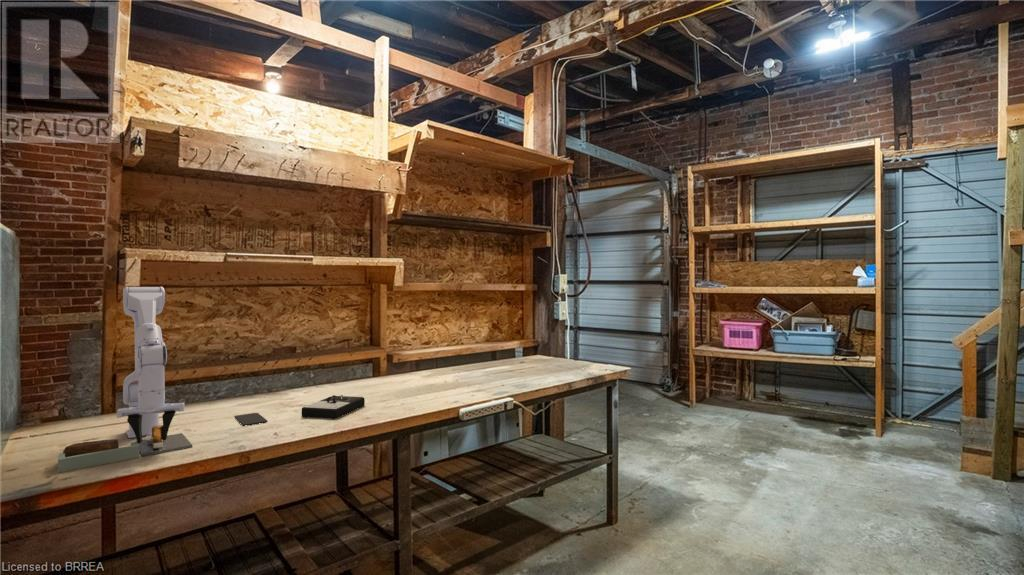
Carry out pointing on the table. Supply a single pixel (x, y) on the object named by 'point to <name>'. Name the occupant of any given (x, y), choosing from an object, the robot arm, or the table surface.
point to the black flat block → (333, 407)
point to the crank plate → (165, 445)
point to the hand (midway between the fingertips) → (152, 440)
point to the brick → (90, 447)
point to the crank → (156, 436)
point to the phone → (250, 419)
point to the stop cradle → (97, 457)
